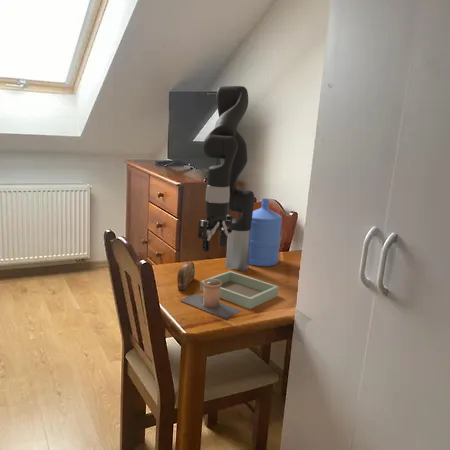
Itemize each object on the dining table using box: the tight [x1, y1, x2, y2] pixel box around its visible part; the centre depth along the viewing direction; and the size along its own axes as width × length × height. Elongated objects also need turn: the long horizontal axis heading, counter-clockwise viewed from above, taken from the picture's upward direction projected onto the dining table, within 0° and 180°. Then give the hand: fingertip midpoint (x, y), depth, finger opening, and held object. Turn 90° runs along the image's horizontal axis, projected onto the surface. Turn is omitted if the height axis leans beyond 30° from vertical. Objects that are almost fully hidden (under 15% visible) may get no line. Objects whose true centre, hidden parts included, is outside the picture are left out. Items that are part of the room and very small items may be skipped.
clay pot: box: [202, 278, 222, 308], centre depth 158 cm, size 6×6×8 cm
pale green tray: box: [199, 270, 280, 310], centre depth 171 cm, size 17×22×4 cm
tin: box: [176, 261, 196, 291], centre depth 176 cm, size 15×3×8 cm, turn 168°
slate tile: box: [180, 293, 243, 322], centre depth 159 cm, size 8×20×1 cm, turn 51°
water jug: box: [249, 198, 283, 267], centre depth 209 cm, size 16×16×28 cm
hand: (214, 248), depth 156 cm, fingers open, 8 cm apart
